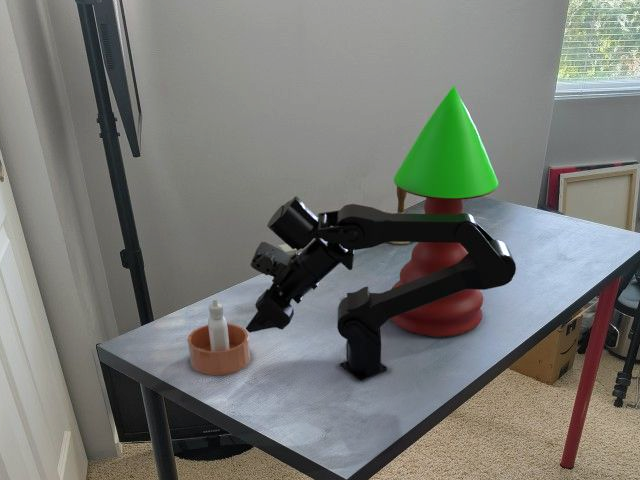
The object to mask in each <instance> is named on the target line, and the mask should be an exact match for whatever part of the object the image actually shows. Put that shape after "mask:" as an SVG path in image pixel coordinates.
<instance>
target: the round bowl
mask: <svg viewBox="0 0 640 480" xmlns="http://www.w3.org/2000/svg"><path fill="white" fill-rule="evenodd" d="M227 328H228V337H229V347H230V349H229V350H224V351H211V345H210V336H209V328H208V324H206V325H205V324H204V325H203V326H200V327H198V328H195V329H194V330H193V331H192V332H190V334H189V335H188V337H187V347H188V354H189V360H190V365H191V367H192V368H193V369H194V370H195V371H197V372H199V373H201V374H205V375H208V376H209V375H210V376H226V375H231V374H234V373H236V372H239V371H241V370H242V369H244V368H245V367H246V366H247V365H248V364H249V362H250V359H251V351H250V349H251V348H250V339H249V337H250V336H249V332H248V331H247V330H246V328H243V327H242V326H240V325H237V324H233V323H228V322H227Z"/></svg>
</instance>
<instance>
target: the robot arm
mask: <svg viewBox="0 0 640 480" xmlns="http://www.w3.org/2000/svg"><path fill="white" fill-rule="evenodd" d="M304 203H305V202H303V201H302V199H301V198H300V197H299V196H297V195H296V196H294V197H293V198H292V199H291V200H288V201H287V202H285V203H284V204H282V205H280V206H279V207H278V209H277V210H276V211H275V212H274V214H273V215H272V216H271V217H270V219H269V221H268V223H267V226H266V227H267V228H268V229H269V230H270V231H271V232H273V233H274V234H275V235H276V236H277V237H278V238H279V239H280V240H281V241H282V242H284V244H287V245H288V246H290V247H291V248H292V249H297V250H300V249H303V248H305V247H306V248H305V249H304V250H303V251H302V252H300V251H299V252H298V253H297V252H296V253H295V254H293V255H292V256H290V255H288V254H287V253H285V252H284V251H282V250H281V249H279V247H276V246H275V245H272V244H271V243H268V242H266V241H261V242H260V243H259V245H258V247H256V249H255V252H254V255H253V256H252V259H251V262H250V267H251V268H252V269H253V270H255V271H256V272H259V273H261V274H263V275H265V276H270V277H273V278H272V280H271V282H272V284H271V285H270V287H269V288H267V289H265V290H264V292H262V293H261V294H260V296H259V297H258V299H257V300H256V302H255V305H254V306H255V308H256V311H257V312H256V313H255V314H254V315H253V317H252V318H251V320H250V321H249V322H248V324H247V325H246V326H245V330H246V331H247V333H255V332H260V331H264V330H268V329H275V328H276V329H278V330H284V329H285V328H286V327H288V326H289V325H290V324H291V321H292V320H293V317H294V315H295V311H294V310H295V309H294V306H293V305H291V302H292V300H293V302H295V303H296V304H297V305H299V304H300V303H301V302H302V301H303V298H304V296H305V295H306V294H307V293H308V292H310V291H311V290H316V289H317V288H318V287H319V285H320V283H321V281H322V280H323V279H324V278H326V276H327V275H329V274H330V273H331V272H332V271H333V270H334V269H335V268H337V266H338V265H340V264H342V265H343V266H344V267H345V268H346V269H347V270H348V271H352V270H353V268H354V260H355V258H354V256H355V251H359V250H364V249H370V248H374V247H377V246H380V245H382V244H386V243H389V242H411V243H418V242H450V243H460V244H461V245H462V246H463V247H464V248H465V249H466V251H467V255H466V256H465V257H464V258H462V259H461V260H460V261H459V262H458V263H456V264H454V265H452V266H449V267H447V268H444V269H442V270H439V271H437V272H434V273H431V274H429V275H426V276H424V277H421V278H419V279H416V280H414V281H411V282H409V283H406V284H403V285H401V286H398V287H396V288H393V289H391V288H390V289H389V290H386V291H383V292H370V289H369V286H364V287H362V288H360V289H358V290H356V291H353V292H347V293H346V297H344V298H342V300H340V302H339V304H338V306H337V322H336V328H337V331H338V334H340V336H341V337H342V338H344V339H345V340H346V344H345V351H346V352H345V356H346V357H345V358H346V360H345V361H343V362H341V363H340V364H339V367H340V368H341V369H343V370H344V371H346V372H347V373H349V375H351V376H353V377H354V378H355V379H356V380H358V381H364V380H366V379H370V378H371V377H374V376H376V375H378V374H382V373H384V372H386V371H388V367H387V366H386V365H384V364H383V363H382V335H381V334H382V333H381V327H382V326H383V325H384V324H385V323H386V322H388V321H389V320H391V319H390V318H392V317H395V316H398V315H400V314H403V313H406V312H408V311H411V310H413V309H416V308H419V307H421V306H424V305H426V304H429V303H432V302H434V301H437V300H439V299H442V298H445V297H447V296H450V295H453V294H455V293H458V292H460V291H463V290H467V289H474V290H480V291H485V290H486V291H487V290H490V289H495V288H499V287H503V286H506V285H507V284H510V282H511V281H513V278H514V276H515V275H516V271H517V266H516V262H515V260H514V258H513V255H512V252H511V251H510V249H509V247H508V245H507V244H506V243H505V242H503V241H500V240H498V239H494V238H493V237H492V236H491V234H490V233H488V231H487V230H486V229H485V228H483V227H482V226H481V225H480V224H479V223H478V222H477V221H476V220H475V218H474V216H473V215H472V214H470V213H467V212H462V213H460V214H425V213H404V214H397V213H394V212H393V213H391V212H388V211H387V212H386V211H384V210H383V211H382V210H380V209H379V208H375V207H372V206H366V205H362V204H356V203H349V204H346V205H343V206H342V208H340V209H339V210H332V211H324V212H318V214H317V215H316V214H315V213H314V212H313V211H311V209H310V208H308V207H307V206H306V204H304Z"/></svg>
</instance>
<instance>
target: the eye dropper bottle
mask: <svg viewBox="0 0 640 480" xmlns="http://www.w3.org/2000/svg"><path fill="white" fill-rule="evenodd" d="M223 309H224V308H223V304H221V303H219V302H218V298H213V299H212V303H211V304H210V305H208V312H209V317H208V320H207V325H208V328H209V336H210V345H211V351H224V350H229V349H230V347H229V337H228V328H227V323H228V321H227V318H226V317H225V316H224V310H223Z"/></svg>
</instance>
